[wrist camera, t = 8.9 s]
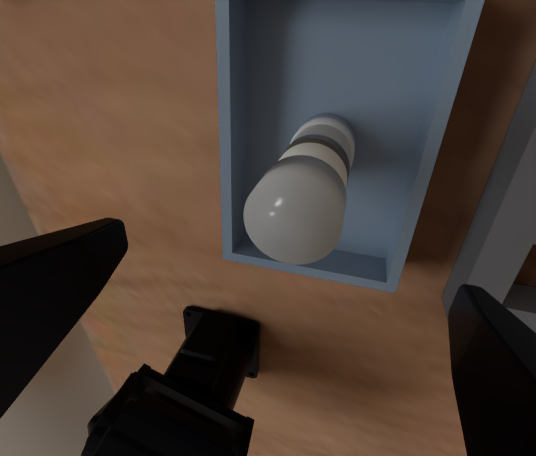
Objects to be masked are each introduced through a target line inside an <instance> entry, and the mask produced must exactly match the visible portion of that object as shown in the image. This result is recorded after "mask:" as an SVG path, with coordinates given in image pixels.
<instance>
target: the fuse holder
mask: <svg viewBox="0 0 536 456" xmlns="http://www.w3.org/2000/svg"><path fill="white" fill-rule="evenodd" d="M533 244H535V245H536V61H535V63H534V66H533V68H532V71H531V73H530V76H529V78H528V81H527V83H526V86H525V88H524V91H523V93H522V96H521V98H520V101H519V103H518V106H517V108H516V111H515V113H514V116H513V118H512V121H511V123H510V126H509V128H508V131H507V134H506V136H505V139H504V141H503V144H502V146H501V149H500V151H499V154H498V156H497V159H496V161H495V164H494V166H493V169H492V171H491V174H490V176H489V179H488V181H487V184H486V186H485V189H484V191H483V194H482V196H481V199H480V201H479V204H478V206H477V209H476V212H475V214H474V217H473V219H472V222H471V224H470V227H469V229H468V232H467V234H466V237H465V239H464V242H463V244H462V247H461V249H460V252H459V254H458V257H457V259H456V262H455V264H454V267H453V269H452V272H451V274H450V277H449V279H448V282H447V285H446V287H445V290H444V292H443V295H442V300H443V304H444V308H445V312H446V316H447V320H448V313H449V309H450V306H451V304H452V302H453V299H454V297H455V295H456V292H457V290H458V288H459V286H460V285H462V284H469V285H475V286H480V287H482V288H483V289H484V290H486V291H487V292H488V293H489V294H490V295H492V296H493V297H494V298H495V299H496V300H497V301H499V302H500V303H501V304H502V305H503V306H505V307H506V308H507V309H508V310H509V311H511V312H512V313H513V314H514V315H515V316H516V317H518V318H519V319H520V320H521V321H522V322H524V323H525V324H526V325H527V326H528V327H529V328H531V329H532V330H533V331H534V332H535V333H536V287H533V286H527V285H522V284H516V283H513V282H514V280H515V278H516V276H517V274H518V272H519V270H520V268H521V267H522V265H523V263H524V261H525V259H526V257H527V255H528V253H529V251H530V249H531V247H532V246H533Z"/></svg>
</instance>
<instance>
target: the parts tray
mask: <svg viewBox="0 0 536 456" xmlns="http://www.w3.org/2000/svg"><path fill="white" fill-rule="evenodd" d="M484 1H485V0H215V8H216V41H217V75H218V108H219V142H220V175H221V209H222V242H223V259H224V260H229V261H235V262H240V263H245V264H250V265H255V266H260V267H265V268H270V269H275V270H280V271H285V272H290V273H295V274H300V275H305V276H310V277H315V278H320V279H325V280H330V281H336V282H341V283H346V284H351V285H356V286H361V287H366V288H371V289H376V290H381V291H386V292H391V293H396V290H397V287H398V283H399V280H400V277H401V273H402V270H403V267H404V264H405V260H406V257H407V254H408V250H409V247H410V244H411V241H412V237H413V234H414V231H415V227H416V224H417V221H418V218H419V214H420V211H421V208H422V205H423V201H424V198H425V195H426V191H427V188H428V185H429V182H430V178H431V175H432V172H433V168H434V165H435V162H436V159H437V155H438V152H439V149H440V145H441V142H442V139H443V136H444V132H445V129H446V126H447V122H448V119H449V116H450V113H451V109H452V106H453V103H454V99H455V96H456V93H457V90H458V86H459V83H460V80H461V76H462V73H463V70H464V67H465V63H466V60H467V57H468V53H469V50H470V47H471V44H472V40H473V37H474V34H475V31H476V27H477V24H478V21H479V17H480V14H481V11H482V8H483V4H484ZM322 113H330V114H335V115H338V116H340V117H341V118H343V119H344V120H346V121H347V122H348V123H349V124H350V126H351V127H352V129H353V131H354V134H355V139H356V146H355V153H354V159H353V163H352V166H351V168H350V171H349V178H348V184H347V188H346V193H347V201H346V209H345V215H344V221H343V227H342V233H341V237H340V239H339V241H338V243H337V245H336V247H335V248H334V249H333V250H332V252H330V253H329V254H328V255H327V256H325V257H324V258H322V259H320V260H318V261H316V262H313V263H309V264H301V265H294V264H287V263H283V262H280V261H277V260H275V259H273V258H271V257H269V256H267V255H266V254H264V253H263V252H262V251H261V250H259V249H258V248H257V247H256V245H255V244H254V243H253V242H252V240H251V239H250V237H249V235H248V233H247V231H246V228H245V224H244V216H243V214H244V207H245V203H246V201H247V198H248V197H249V195H250V193H251V192H252V191H253V189H254V188H255V187H256V185H257V184H258V183H259V181H260V180H261V179H262V177H263V176H264V175H265V173H266V172H267V171H268V170H269V168H270V167H271V166H272V165H273V164H275V163H276V162H278V160H279V158H280V157H281V155H282V154H283V153H284V151H285V150H286V149H287V147H288V146H289V145H290V142H291V140H292V138H293V136H294V135H295V134H296V132H297V131H298V130H299V128H300V127H301V126H302V124H303V123H304V122H305V121H306V120H308V119H309V118H311V117H312V116H315V115H317V114H322Z"/></svg>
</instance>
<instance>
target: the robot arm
mask: <svg viewBox="0 0 536 456" xmlns="http://www.w3.org/2000/svg"><path fill="white" fill-rule="evenodd" d="M127 249H128V241H127V236H126V231H125V226H124V223H123V222H122V221H121V220H119V219H114V218H104V219H100V220H97V221H93V222H89V223H85V224H82V225H78V226H74V227H70V228H67V229H63V230H59V231H55V232H52V233H48V234H44V235H40V236H37V237H33V238H29V239H25V240H22V241H18V242H14V243H11V244H7V245H3V246H0V418H1V417H2V416H3V415H4V413H5V412H6V411H7V410H8V408H9V407H10V406H11V404H12V403H13V402H14V401H15V400H16V398H17V397H18V396H19V394H20V393H21V392H22V391H23V389H24V388H25V387H26V386H27V384H28V383H29V382H30V380H31V379H32V378H33V377H34V376H35V374H36V373H37V372H38V370H39V369H40V368H41V367H42V366H43V364H44V363H45V362H46V361H47V359H48V358H49V357H50V356H51V354H52V353H53V352H54V350H55V349H56V348H57V347H58V345H59V344H60V343H61V342H62V340H63V339H64V338H65V337H66V335H67V334H68V333H69V332H70V330H71V329H72V328H73V326H74V325H75V324H76V323H77V322H78V320H79V319H80V318H81V317H82V315H83V314H84V313H85V312H86V310H87V309H88V308H89V306H90V305H91V304H92V303H93V301H94V300H95V299H96V298H97V296H98V295H99V294H100V292H101V291H102V289H103V288H104V286H105V285H106V283H107V282H108V280H109V278H110V277H111V275H112V274H113V272H114V271H115V269H116V268H117V266H118V264H119V263H120V261H121V260H122V258H123V257H124V255H125V254H126V252H127ZM183 317H184V326H185V334H186V339H185V340H184V342H183V344H182V345H181V347H180V349H179V350H178V352H177V354H176V355H175V357H174V358H173V360H172V362H171V363H170V365H169V367H168V368H167V370H166V372H165V373H164V375H163V374H161V373H159V372H157V371H155V370H153V369H151V367H150V366H148V365H146V364H143V366H142V367H141V368H140V369H139V370H138V372H136V371H135V372H134V373H131V374H130V376H129V377H128V378H127V380H126V381H125V383H124V384H123V386H122V387H121V388H120V390H119V391H118V392H117V393H116V394H115V396H114V397H113V398H112V399H111V400H109V401H108V402H107V404H106V405H104V406H103V407H102V408H101V409H100V410H99V411H98V412H97V413H96V414H95V415H94V416H93V417H92V419H91V420H90V422H89V423H88V426H87V427H88V435H89V437H88V438H87V441H86V444H85V447H84V449H83V451H82V454H81V456H247V453H248V448H249V443H250V439H251V434H252V429H253V424H254V419H252V418H250V417H248V416H247V417H245V416H243V415H241V414H239V413H237V412H235V411H233V409H234V406H235V404H236V401H237V398H238V396H239V393H240V390H241V387H242V385H243V382H244V379H245V377H250V378H256V377H257V375H258V370H259V347H260V325H259V323H257V322H255V321H251V320H247V319H242V318H238V317H234V316H230V315H225V314H221V313H217V312H212V311H208V310H204V309H199V308H195V307H191V306H187V307H186V308H185V309H184V311H183ZM253 327H254V328H253ZM448 327H449V341H450V356H451V370H452V379H453V385H454V390H455V396H456V401H457V406H458V411H459V416H460V421H461V426H462V431H463V436H464V441H465V447H466V452H467V456H536V333H535V332H534V331H533V330H532V329H531V328H529V327H528V326H527V325H526V324H525V323H524V322H522V321H521V320H520V319H519V318H518V317H516V316H515V315H514V314H513V313H512V312H511V311H509V310H508V309H507V308H506V307H505V306H503V305H502V304H501V303H500V302H499V301H497V300H496V299H495V298H494V297H493V296H492V295H490V294H489V293H488V292H487V291H486V290H484V289H483V288H482V287H480V286H475V285H469V284H462V285H460V286H459V288H458V290H457V292H456V295H455V297H454V299H453V302H452V304H451V306H450V309H449V313H448Z"/></svg>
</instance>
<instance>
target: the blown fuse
mask: <svg viewBox="0 0 536 456" xmlns="http://www.w3.org/2000/svg"><path fill="white" fill-rule="evenodd" d="M355 146H356V139H355V134H354V131H353V129H352V127H351V126H350V124H349V123H348V122H347V121H346V120H344V119H343V118H341V117H340V116H338V115H335V114H330V113H322V114H317V115H315V116H312V117H311V118H309V119H308V120H306V121H305V122H304V123H303V124H302V126H301V127H300V128H299V130H298V131H297V132H296V134H295V135H294V136H293V138H292V140H291V142H290V145H289V146H288V147H287V149H286V150H285V151H284V153H283V154H282V155H281V157H280V158H279V160H278V162H276V163H275V164H273V165H272V166H271V167H270V168H269V170H268V171H267V172H266V173H265V175H264V176H263V177H262V179H261V180H260V181H259V183H258V184H257V185H256V187H255V188H254V189H253V191H252V192H251V193H250V195H249V197H248V198H247V201H246V203H245V207H244V214H243V216H244V224H245V228H246V231H247V233H248V235H249V237H250V239H251V240H252V242H253V243H254V244H255V245H256V247H257V248H258V249H259V250H261V251H262V252H263V253H264V254H266V255H267V256H269V257H271V258H273V259H275V260H277V261H280V262H283V263H287V264H294V265H301V264H309V263H313V262H316V261H318V260H320V259H322V258H324V257H325V256H327V255H328V254H329V253H330V252H332V250H333V249H334V248H335V247H336V245H337V243H338V241H339V239H340V237H341V233H342V227H343V221H344V215H345V209H346V201H347V193H346V188H347V184H348V178H349V171H350V168H351V166H352V163H353V159H354V153H355Z"/></svg>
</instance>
